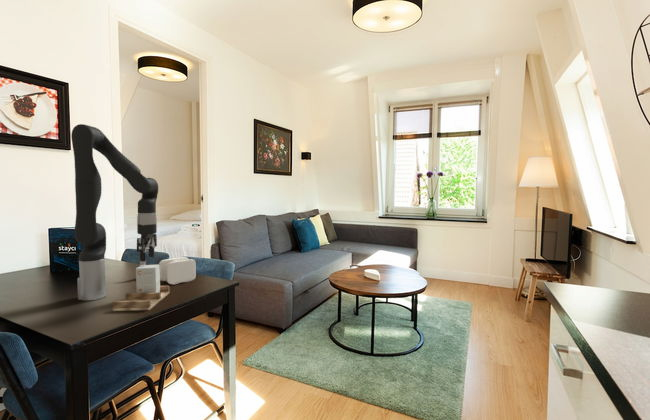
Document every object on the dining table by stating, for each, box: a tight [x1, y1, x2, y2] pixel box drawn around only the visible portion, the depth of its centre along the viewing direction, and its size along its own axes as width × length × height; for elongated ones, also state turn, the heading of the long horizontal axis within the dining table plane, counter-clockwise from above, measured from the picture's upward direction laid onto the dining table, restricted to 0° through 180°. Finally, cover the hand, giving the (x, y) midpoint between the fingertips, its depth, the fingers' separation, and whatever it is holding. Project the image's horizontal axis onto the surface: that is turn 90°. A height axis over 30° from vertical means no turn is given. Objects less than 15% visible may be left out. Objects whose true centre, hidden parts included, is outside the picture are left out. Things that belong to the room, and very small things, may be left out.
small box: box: [135, 264, 161, 293], centre depth 147 cm, size 8×6×13 cm
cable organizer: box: [158, 256, 197, 285], centre depth 172 cm, size 15×11×12 cm
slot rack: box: [112, 285, 171, 312], centre depth 142 cm, size 14×22×4 cm, turn 5°
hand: (147, 259), depth 146 cm, fingers open, 8 cm apart
